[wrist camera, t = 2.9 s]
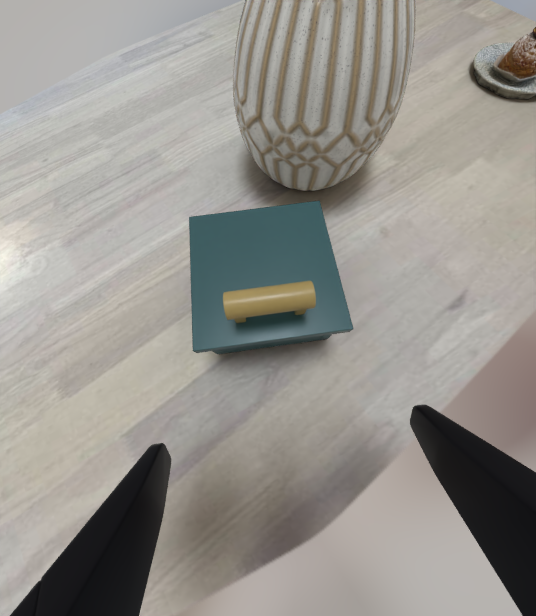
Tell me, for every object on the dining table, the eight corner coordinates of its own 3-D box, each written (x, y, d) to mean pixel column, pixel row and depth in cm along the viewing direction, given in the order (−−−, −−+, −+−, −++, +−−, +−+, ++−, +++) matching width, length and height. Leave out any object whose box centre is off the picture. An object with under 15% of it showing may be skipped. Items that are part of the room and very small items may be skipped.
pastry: (574, 89, 33) (620, 43, 29) (505, 111, 32) (541, 67, 28) (516, 45, 37) (548, -1, 33) (452, 64, 36) (476, 19, 31)
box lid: (350, 331, 16) (375, 313, 12) (196, 353, 16) (170, 341, 12) (317, 207, 20) (329, 161, 16) (192, 223, 19) (171, 180, 15)
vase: (217, 168, 30) (120, -210, 11) (298, 106, 33) (330, -261, 15) (314, 239, 26) (420, -155, 7) (394, 160, 30) (605, -242, 11)
